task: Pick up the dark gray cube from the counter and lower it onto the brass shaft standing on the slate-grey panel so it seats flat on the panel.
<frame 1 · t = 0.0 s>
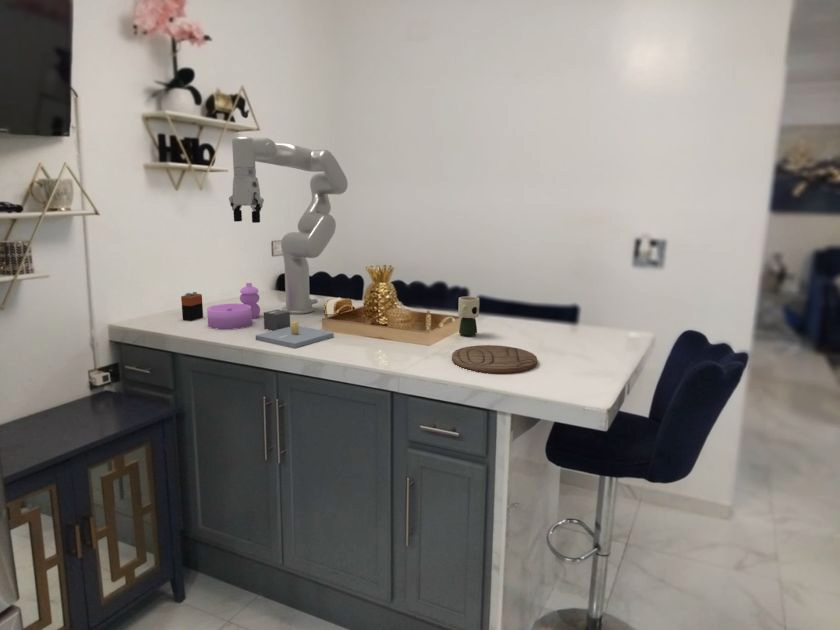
hand: (247, 221, 218), 37 cm above the countertop, tool pointing down, fingers open, 9 cm apart
container set: (237, 322, 226), on the countertop
dark gray cube: (277, 328, 215), on the countertop
hub panel: (295, 338, 202), on the countertop
trivet: (493, 363, 179), on the countertop
character mug: (467, 335, 210), on the countertop
battery: (193, 319, 229), on the countertop
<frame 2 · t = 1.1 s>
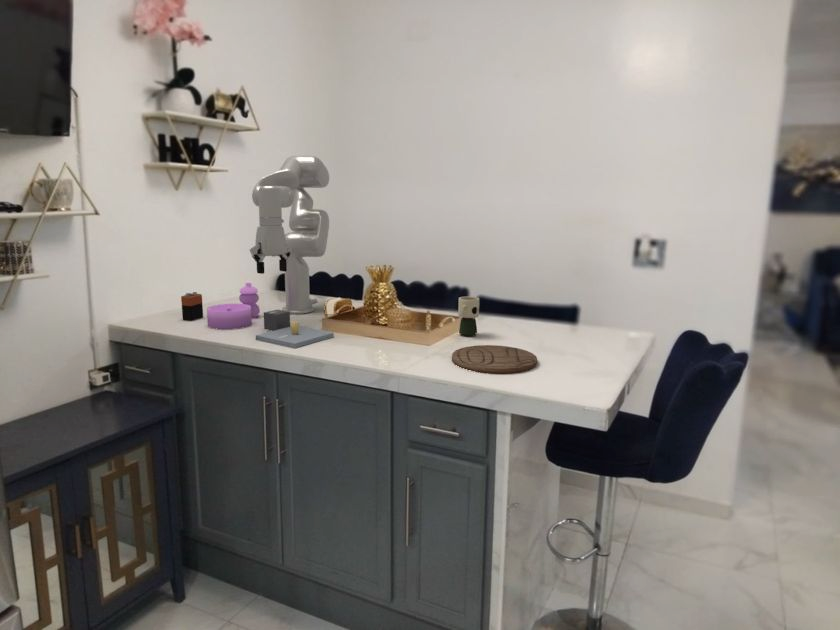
hand: (272, 272, 211), 20 cm above the countertop, tool pointing down, fingers open, 9 cm apart
nothing on the countertop moved.
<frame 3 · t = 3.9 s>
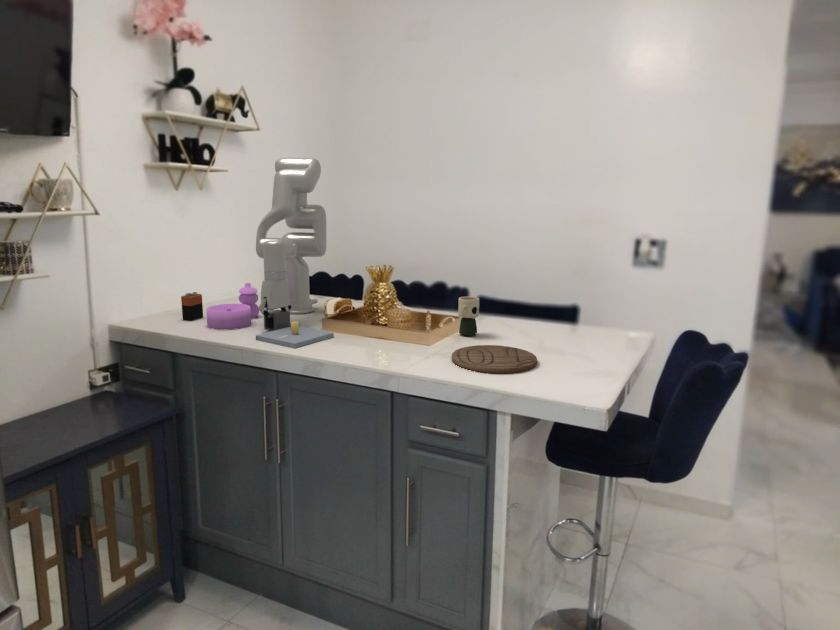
hand: (277, 325, 215), 1 cm above the countertop, tool pointing down, fingers closed on dark gray cube, 6 cm apart
dark gray cube: (277, 328, 215), on the countertop, touching gripper
everything else where it was.
when the fingers open (3 cm above the countertop, at t = 9.7 s): dark gray cube stays where it is, resting on hub panel.
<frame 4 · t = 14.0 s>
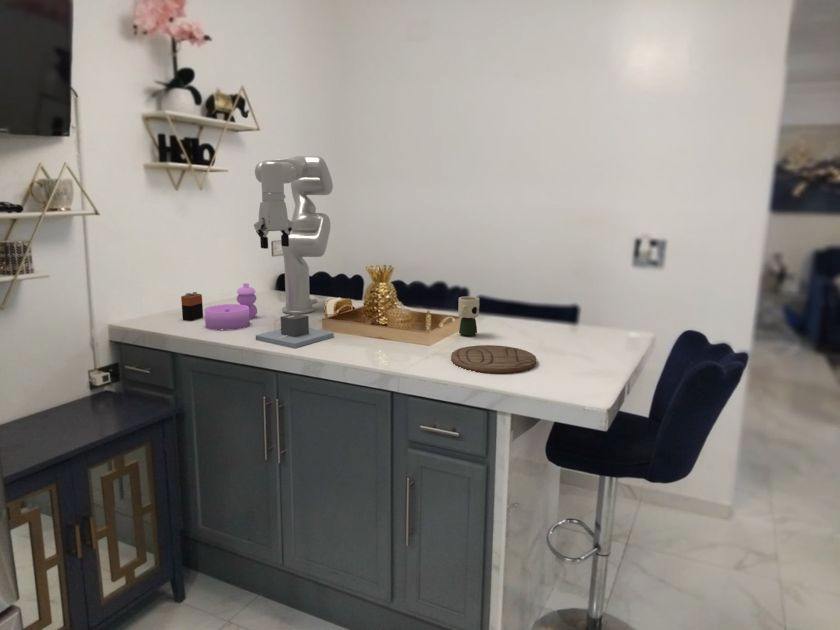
hand: (275, 247, 215), 28 cm above the countertop, tool pointing down, fingers open, 9 cm apart
dark gray cube: (295, 333, 202), point 1 cm above the countertop, touching hub panel
at the end: dark gray cube 0.1 cm off-centre on the hub panel, point 1.5 cm above the hub panel's base; dark gray cube tilted 0°; the gripper is holding nothing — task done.
